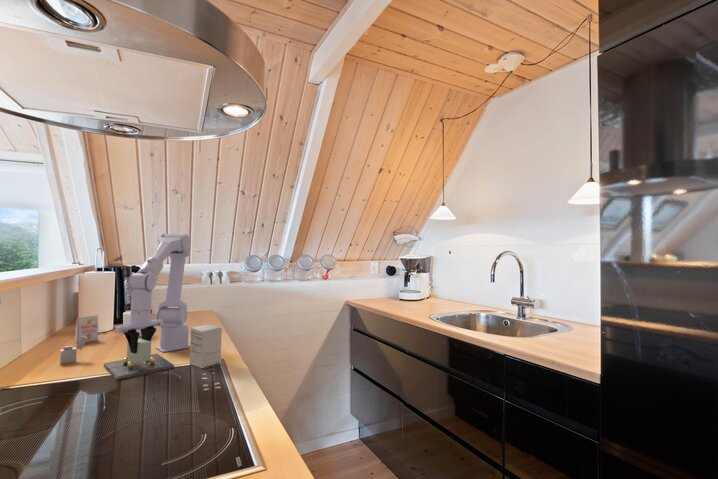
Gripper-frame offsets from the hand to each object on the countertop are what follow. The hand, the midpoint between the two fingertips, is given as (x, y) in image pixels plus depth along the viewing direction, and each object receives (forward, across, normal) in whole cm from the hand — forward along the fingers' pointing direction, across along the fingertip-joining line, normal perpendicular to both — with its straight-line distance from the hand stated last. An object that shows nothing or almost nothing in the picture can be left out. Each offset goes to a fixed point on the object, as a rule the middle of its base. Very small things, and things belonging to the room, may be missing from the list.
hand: (139, 351), depth 120 cm
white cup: (+5, -21, -40) cm, 45 cm away
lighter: (+5, +8, -23) cm, 25 cm away
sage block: (+2, 0, 0) cm, 3 cm away
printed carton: (+5, -6, -46) cm, 47 cm away
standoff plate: (+5, 0, 0) cm, 5 cm away
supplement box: (+5, -14, +15) cm, 21 cm away
